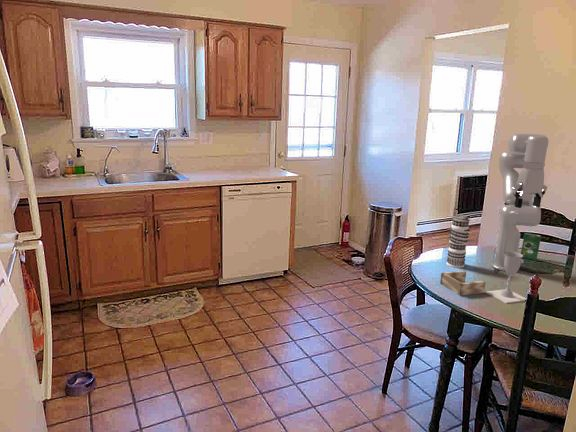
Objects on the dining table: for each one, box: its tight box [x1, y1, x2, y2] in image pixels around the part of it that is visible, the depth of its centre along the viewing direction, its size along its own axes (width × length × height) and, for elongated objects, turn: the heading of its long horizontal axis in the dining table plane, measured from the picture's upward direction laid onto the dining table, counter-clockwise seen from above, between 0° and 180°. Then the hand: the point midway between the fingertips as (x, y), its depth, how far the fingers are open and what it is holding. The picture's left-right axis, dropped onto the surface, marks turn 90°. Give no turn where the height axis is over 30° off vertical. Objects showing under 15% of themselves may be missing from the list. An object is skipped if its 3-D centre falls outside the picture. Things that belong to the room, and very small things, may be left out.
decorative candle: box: [446, 214, 471, 269], centre depth 221 cm, size 9×9×25 cm
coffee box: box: [520, 232, 542, 261], centre depth 236 cm, size 8×3×13 cm, turn 58°
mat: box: [486, 288, 527, 304], centre depth 187 cm, size 11×11×1 cm
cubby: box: [439, 270, 487, 296], centre depth 194 cm, size 12×13×5 cm
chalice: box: [501, 251, 523, 298], centre depth 185 cm, size 7×7×18 cm
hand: (527, 206), depth 188 cm, fingers open, 9 cm apart
